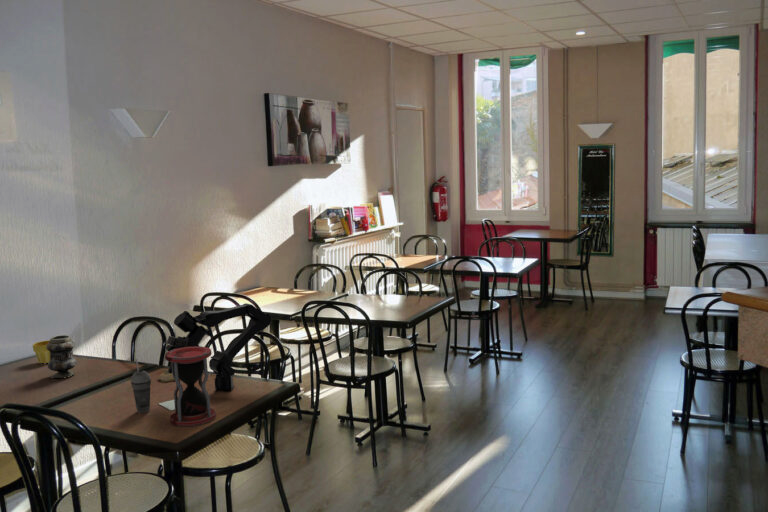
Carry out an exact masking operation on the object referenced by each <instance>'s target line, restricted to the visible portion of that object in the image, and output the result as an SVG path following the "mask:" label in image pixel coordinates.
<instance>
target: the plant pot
mask: <svg viewBox="0 0 768 512" xmlns="http://www.w3.org/2000/svg"><path fill="white" fill-rule="evenodd" d="M49 342H50V339H49V340H42V341H37V342H35V343H33V344H32V351H33V352H34V353H35V356H36V358H37V361H38V364H39V363H48V362H49V361H50V351H48V350H47V348H46V346H47V344H48V343H49Z"/></svg>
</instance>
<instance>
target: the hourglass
mask: <svg viewBox="0 0 768 512" xmlns="http://www.w3.org/2000/svg"><path fill="white" fill-rule="evenodd" d="M199 346H200V345H199ZM211 355H212V349H211V348H210V347H206V346H200V347H198V346H195V347H184V348H178V349H174V350H171V351H169V352H168V351H167V352H166V353H164V359H165V361H167V362H170V364H171V365H172V375H173V378H174V379H175V381H174V382H175V384H176V385H175V389H174V391H173V400H174V403H175V410H174V411H175V412H173V413H172V414H171V415H170V417H169V423H170V424H171V425H173V426H176V427H195V426H201V425H203V424H208V423H209V422H212V421H213V420H215V418H216V417H217V413H216V412H217V411H216V410H215V409H214V408H212V407H211V400H210V394H209V393H208V391H207V390H206V389H207V388H206V384H207V381H208V379H209V372H208V370H209V369H208V358H210V357H212V356H211ZM203 375H204V379H203ZM179 379H180V380H179ZM180 381H181V382H183V383H184V384H185V385H186V386H187V387H185V389H184V388H183V385H182V384H181V382H180ZM196 383H198V386H199V387H200V388H198V387H197V386H195V385H196ZM200 389H201V390H200Z"/></svg>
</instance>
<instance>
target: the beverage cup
mask: <svg viewBox="0 0 768 512" xmlns="http://www.w3.org/2000/svg"><path fill="white" fill-rule="evenodd" d="M135 362H136V369H137V371H135V372H134V373H133V374H132V375H131V381H130V384H131V388H132V391H133V397H134V402H135V408H136V413H138V412H139V413H138V414H145V413H148V412H150V410H151V408H150V407H151V383H152V379H151V375H150V374H149V373H148V372H147V371H145V370H143V369H142V370H140V368H139V362H138V359H135ZM144 412H145V413H144Z"/></svg>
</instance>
